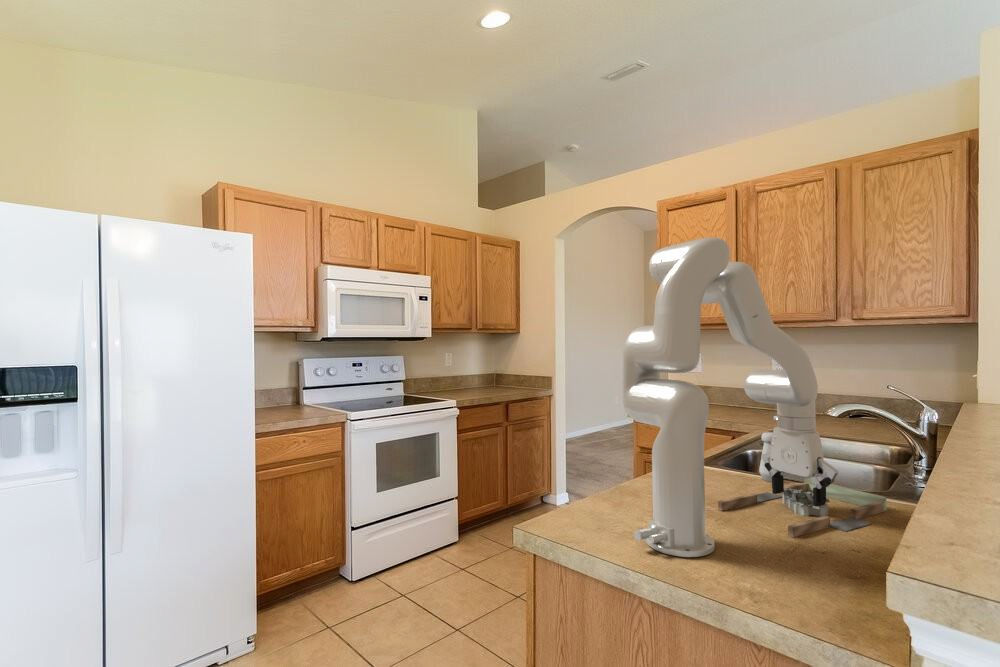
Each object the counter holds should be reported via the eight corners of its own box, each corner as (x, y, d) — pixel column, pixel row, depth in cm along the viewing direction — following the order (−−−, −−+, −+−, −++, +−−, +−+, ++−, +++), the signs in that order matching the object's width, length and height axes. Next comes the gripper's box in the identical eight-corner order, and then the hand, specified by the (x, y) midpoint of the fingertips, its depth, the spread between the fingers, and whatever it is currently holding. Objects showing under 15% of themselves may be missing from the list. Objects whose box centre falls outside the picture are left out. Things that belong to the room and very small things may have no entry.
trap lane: (807, 543, 96) (807, 527, 96) (707, 506, 118) (707, 493, 118) (902, 514, 110) (901, 501, 110) (796, 486, 132) (796, 475, 132)
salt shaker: (781, 484, 134) (780, 435, 134) (757, 480, 137) (756, 433, 137) (784, 479, 138) (783, 432, 138) (761, 476, 142) (760, 430, 142)
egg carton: (832, 519, 109) (832, 500, 109) (794, 517, 111) (793, 498, 111) (813, 503, 119) (813, 485, 119) (779, 501, 121) (778, 484, 121)
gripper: (751, 419, 120) (752, 491, 120) (824, 431, 104) (826, 513, 104) (772, 417, 123) (773, 486, 123) (846, 427, 107) (848, 507, 107)
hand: (798, 498), depth 113 cm, fingers open, 9 cm apart
